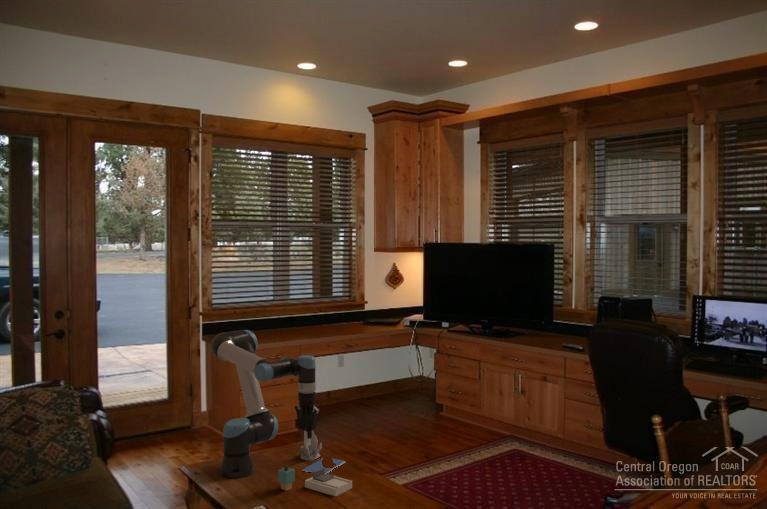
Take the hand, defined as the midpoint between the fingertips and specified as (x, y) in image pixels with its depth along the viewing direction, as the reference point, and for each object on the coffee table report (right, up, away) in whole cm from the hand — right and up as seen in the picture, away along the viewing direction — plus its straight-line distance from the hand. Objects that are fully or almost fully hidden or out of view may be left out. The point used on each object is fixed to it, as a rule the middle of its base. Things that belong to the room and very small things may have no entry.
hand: (307, 445), depth 280 cm
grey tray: (+10, -16, -7) cm, 20 cm away
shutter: (+7, -13, -5) cm, 16 cm away
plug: (-8, -16, -7) cm, 20 cm away
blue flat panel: (+5, -16, +19) cm, 25 cm away
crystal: (-2, -16, +32) cm, 35 cm away
